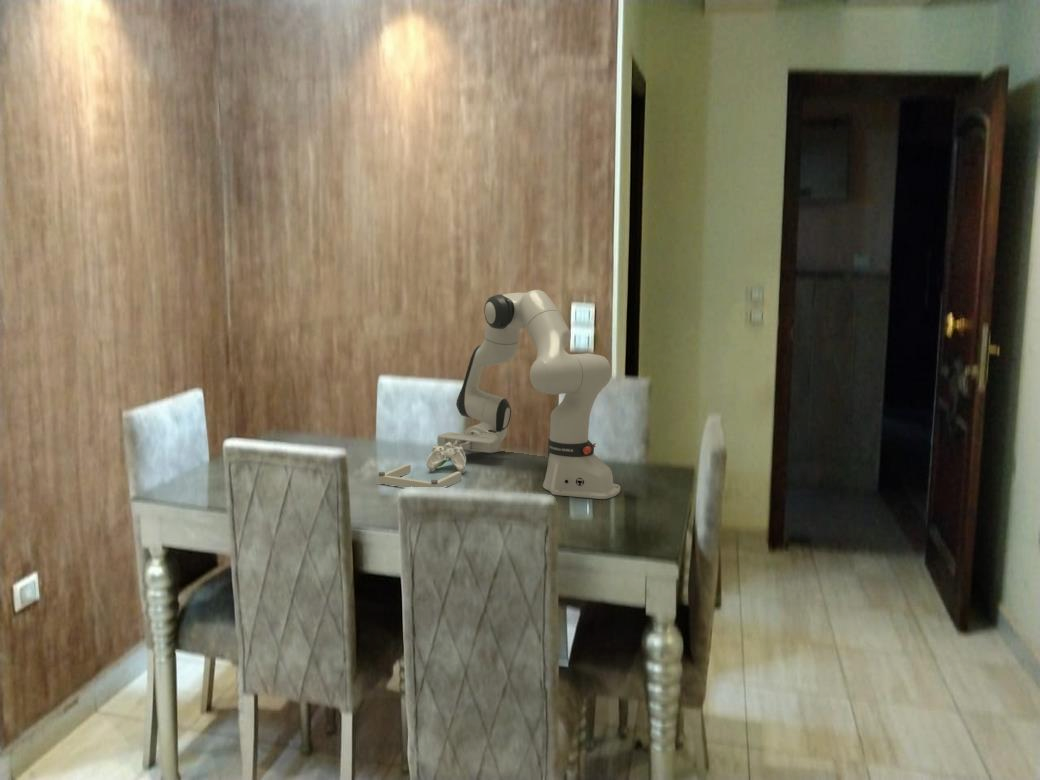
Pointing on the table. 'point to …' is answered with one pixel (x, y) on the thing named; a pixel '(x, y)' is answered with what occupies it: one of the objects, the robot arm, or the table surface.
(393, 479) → the bent beige bar frame
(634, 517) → the table surface
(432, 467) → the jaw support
